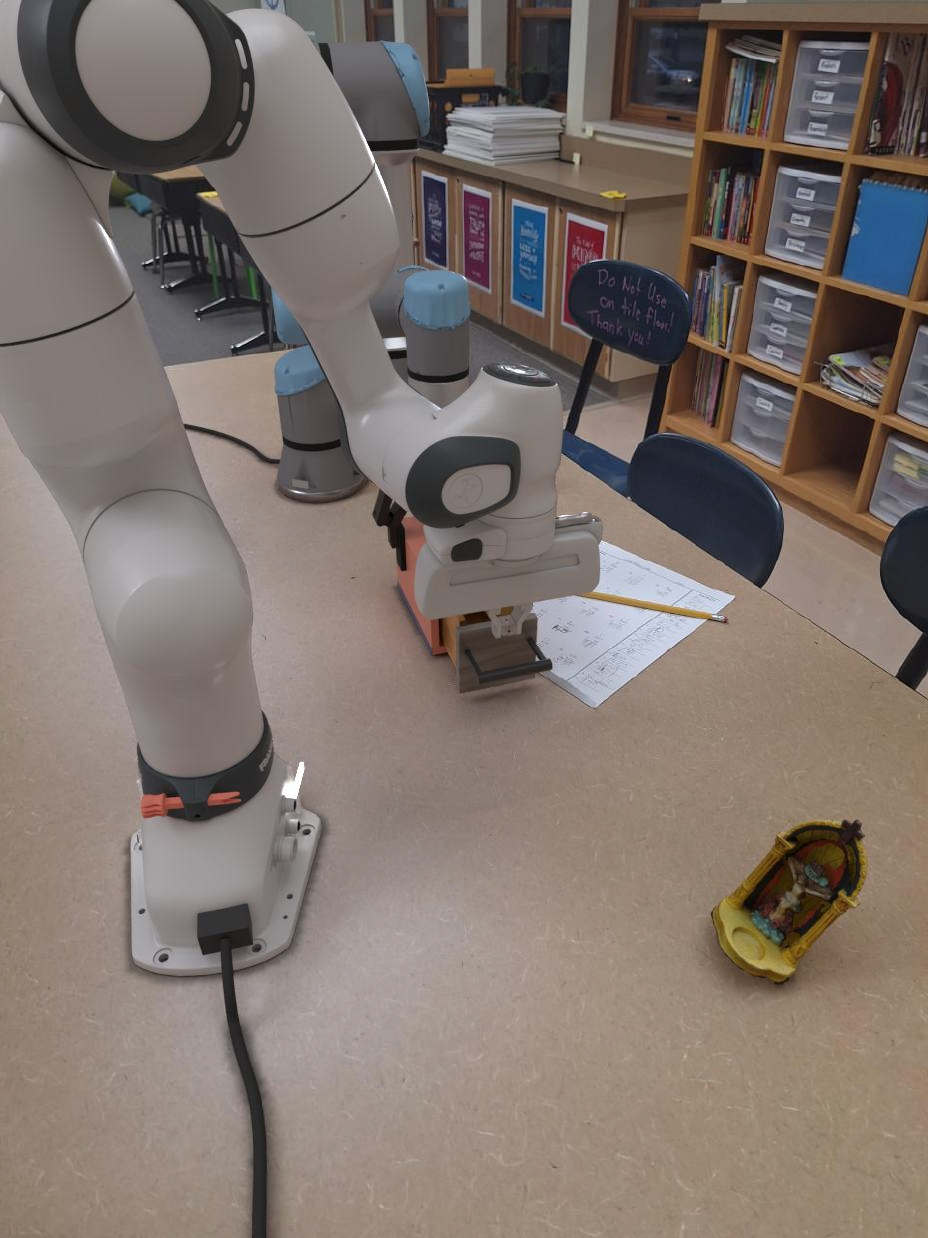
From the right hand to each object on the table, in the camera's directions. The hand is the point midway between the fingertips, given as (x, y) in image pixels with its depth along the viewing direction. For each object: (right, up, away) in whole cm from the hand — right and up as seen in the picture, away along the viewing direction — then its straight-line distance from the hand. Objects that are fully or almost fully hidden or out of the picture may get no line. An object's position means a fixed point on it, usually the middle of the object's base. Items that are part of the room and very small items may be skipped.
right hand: (442, 559), depth 119 cm
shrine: (+30, -38, -42) cm, 64 cm away
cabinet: (+1, -7, 0) cm, 7 cm away
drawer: (+5, -14, -11) cm, 18 cm away
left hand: (+8, -10, -23) cm, 26 cm away
